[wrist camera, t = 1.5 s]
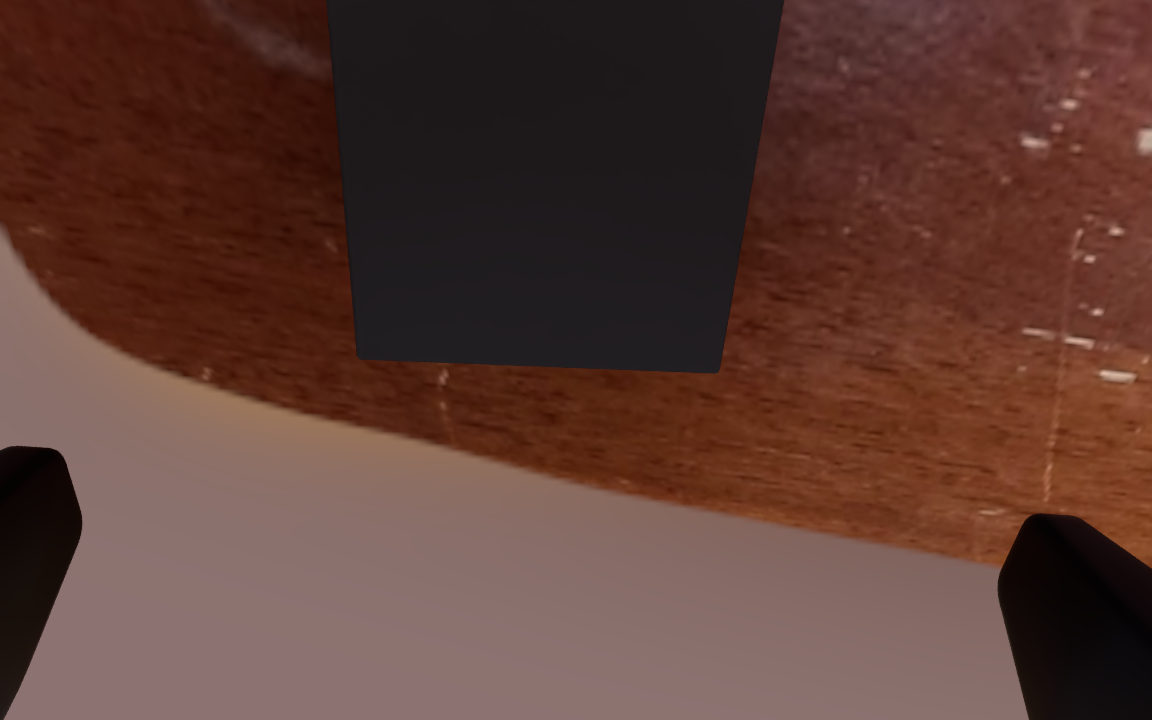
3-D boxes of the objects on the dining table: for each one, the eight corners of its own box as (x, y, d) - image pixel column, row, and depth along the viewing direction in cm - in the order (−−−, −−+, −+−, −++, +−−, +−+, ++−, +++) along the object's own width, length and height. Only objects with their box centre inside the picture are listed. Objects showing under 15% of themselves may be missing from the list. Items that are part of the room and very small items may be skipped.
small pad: (383, 282, 19) (356, 361, 16) (360, -65, 15) (322, -33, 13) (698, 296, 19) (719, 375, 17) (749, -41, 15) (786, -6, 13)
